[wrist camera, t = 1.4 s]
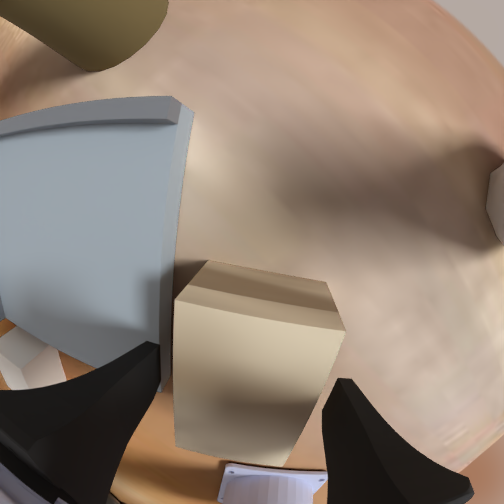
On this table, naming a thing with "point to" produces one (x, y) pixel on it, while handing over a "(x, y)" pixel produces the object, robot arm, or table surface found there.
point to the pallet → (250, 361)
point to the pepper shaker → (88, 27)
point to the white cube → (28, 361)
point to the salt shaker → (496, 202)
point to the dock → (93, 224)
